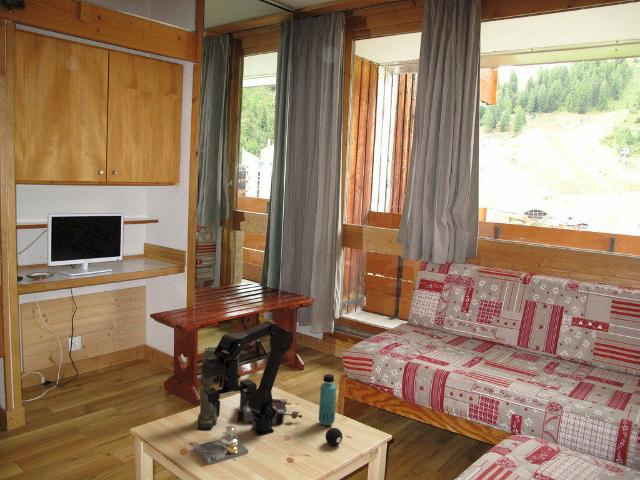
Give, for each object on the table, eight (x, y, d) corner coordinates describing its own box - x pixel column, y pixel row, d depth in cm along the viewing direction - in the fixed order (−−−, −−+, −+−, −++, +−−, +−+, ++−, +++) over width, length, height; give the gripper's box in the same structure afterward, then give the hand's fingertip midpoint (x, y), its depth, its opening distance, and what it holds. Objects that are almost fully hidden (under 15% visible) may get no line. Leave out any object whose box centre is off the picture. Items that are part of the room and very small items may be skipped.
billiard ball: (331, 450, 193) (332, 434, 193) (322, 443, 198) (322, 427, 198) (345, 446, 197) (346, 430, 196) (335, 439, 202) (336, 423, 201)
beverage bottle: (320, 429, 209) (323, 379, 206) (316, 421, 215) (318, 372, 213) (336, 427, 211) (339, 378, 208) (331, 420, 217) (334, 371, 215)
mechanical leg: (211, 432, 200) (218, 349, 203) (192, 431, 200) (198, 348, 203) (218, 424, 213) (224, 347, 217) (200, 423, 213) (206, 346, 217)
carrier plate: (232, 438, 198) (232, 429, 198) (248, 453, 188) (248, 443, 188) (193, 448, 189) (193, 439, 189) (207, 464, 180) (208, 454, 179)
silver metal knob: (233, 437, 197) (234, 422, 196) (241, 444, 192) (242, 429, 192) (218, 441, 194) (219, 426, 193) (226, 448, 189) (226, 433, 188)
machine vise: (243, 406, 226) (244, 395, 225) (303, 411, 225) (304, 399, 224) (236, 422, 211) (237, 410, 211) (300, 427, 210) (301, 414, 210)
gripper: (243, 359, 201) (242, 399, 204) (195, 368, 191) (195, 410, 193) (258, 368, 193) (257, 410, 195) (209, 379, 182) (208, 423, 184)
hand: (229, 413), depth 192 cm, fingers open, 9 cm apart
